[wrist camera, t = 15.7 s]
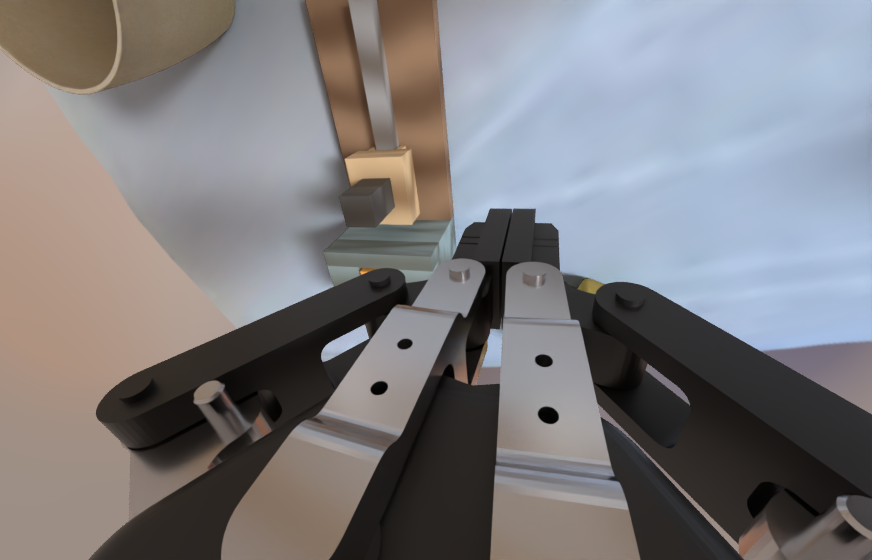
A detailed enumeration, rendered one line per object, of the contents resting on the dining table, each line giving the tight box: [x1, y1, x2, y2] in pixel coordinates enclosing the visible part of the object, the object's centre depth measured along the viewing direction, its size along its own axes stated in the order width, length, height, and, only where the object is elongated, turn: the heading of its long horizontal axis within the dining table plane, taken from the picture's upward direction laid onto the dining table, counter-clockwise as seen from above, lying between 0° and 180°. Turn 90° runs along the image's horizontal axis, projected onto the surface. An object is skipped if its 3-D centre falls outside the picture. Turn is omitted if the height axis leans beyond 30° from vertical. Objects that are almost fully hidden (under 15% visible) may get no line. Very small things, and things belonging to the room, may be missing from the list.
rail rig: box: [305, 0, 456, 287], centre depth 36 cm, size 30×12×10 cm, turn 6°
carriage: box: [339, 146, 420, 228], centre depth 36 cm, size 7×6×10 cm
